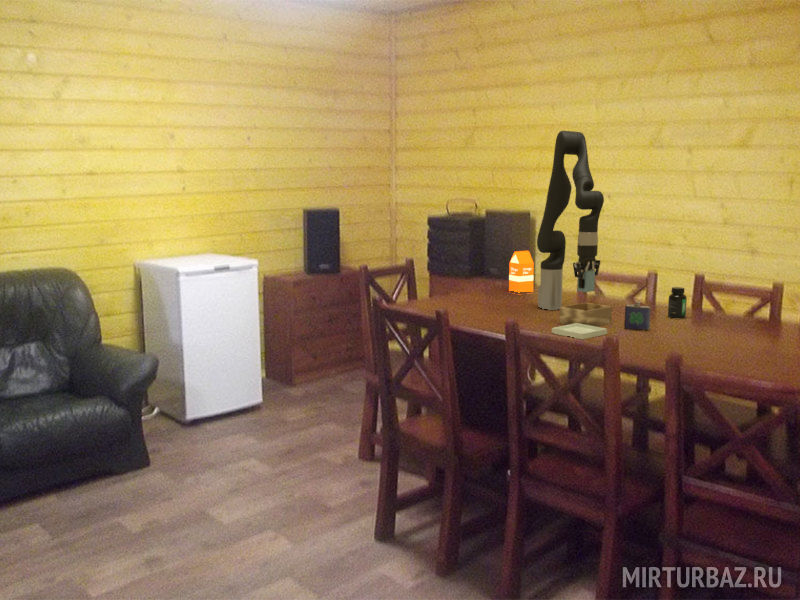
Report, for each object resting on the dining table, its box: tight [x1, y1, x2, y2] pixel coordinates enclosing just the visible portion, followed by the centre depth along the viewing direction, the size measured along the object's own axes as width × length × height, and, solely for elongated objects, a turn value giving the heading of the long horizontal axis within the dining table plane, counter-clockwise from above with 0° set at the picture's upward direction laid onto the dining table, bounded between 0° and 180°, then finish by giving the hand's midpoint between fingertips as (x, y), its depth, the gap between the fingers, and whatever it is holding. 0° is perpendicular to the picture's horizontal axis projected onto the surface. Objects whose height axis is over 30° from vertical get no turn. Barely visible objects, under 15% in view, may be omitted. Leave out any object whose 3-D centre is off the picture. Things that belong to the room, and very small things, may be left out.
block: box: [576, 269, 596, 293], centre depth 314 cm, size 4×4×8 cm
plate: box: [551, 323, 608, 340], centre depth 298 cm, size 14×14×2 cm
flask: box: [623, 301, 652, 332], centre depth 303 cm, size 9×3×11 cm, turn 63°
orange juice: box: [508, 250, 535, 293], centre depth 390 cm, size 8×9×20 cm
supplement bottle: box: [667, 286, 688, 319], centre depth 326 cm, size 7×7×12 cm
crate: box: [559, 302, 613, 327], centre depth 316 cm, size 13×16×6 cm
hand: (585, 287), depth 314 cm, fingers closed on block, 4 cm apart
